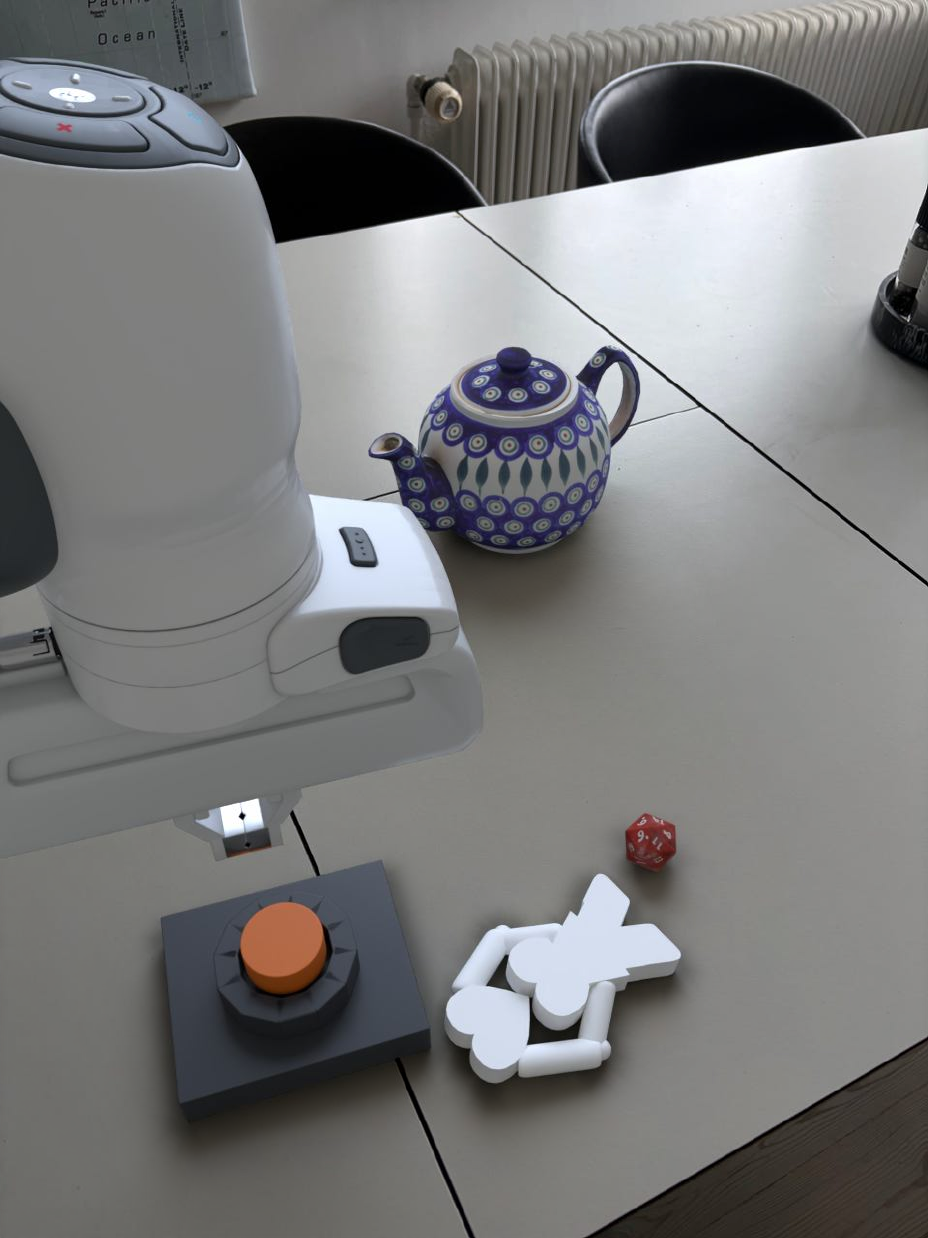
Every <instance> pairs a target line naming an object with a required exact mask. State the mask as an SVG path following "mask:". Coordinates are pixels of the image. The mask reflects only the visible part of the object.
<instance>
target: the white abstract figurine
mask: <svg viewBox="0 0 928 1238" xmlns="http://www.w3.org/2000/svg"><path fill="white" fill-rule="evenodd" d="M630 902H631V901H630V899H629V897H628V896H627V895H626V894H625V893H624V892H623V891H622V889H620V888H619V887H618V886H617V885H616V884H615V882H613V881H612V880H611V879H610V878H609V877H608V876H607V875H606V874H603V873H598V874H596V875H595V877H594V878H593V879H592V881H591V883H590V885H589V887H588V888H587V891H586V893H585V895H584V897H583V899H582V902H581V905H580V909H579V912H578V914H577V915H576V914H575V913H574V912H573V911H572V910H570V911H569V912H568V915H567V916H566V919H565V920H564V922H563V924H560V923H558V922H557V923H556V922H554V923H553V922H552V923H545V924H536V925H529V926H522V927H514V928H510V927H509V926H507V925H505V924H499V925H498V926H496V927H495V928H493V929H489V930H488V931H487V932H486V933H485V934H484V935H483V937H482V939H481V940H480V941H479V943H478V945H477V946H476V948H475V949H474V951H473V952H472V953H471V955H470V957H469V958H468V959H467V961H466V963H465V965H463V967H462V969H461V970H460V972H459V974H458V975H457V976H456V978H455V980H454V981H453V983H452V985H451V991H452V993H453V995H452V996H451V997H450V998H449V1000H448V1001H447V1003H446V1008H445V1013H444V1021H443V1026H444V1031H445V1033H446V1035H447V1037H448V1038H449V1040H450V1041H451V1042H452V1043H453V1044H455V1045H456V1046H458V1047H461V1048H463V1049H469V1050H470V1051H469V1056H468V1057H469V1064H470V1066H471V1069H472V1071H473V1072H474V1073H475V1074H476V1075H477V1076H478V1077H479V1078H480V1079H481V1080H483V1081H485V1082H486V1083H491V1084H498V1083H503V1082H504V1081H506V1080H508V1079H510V1078H511V1077H513V1076H514V1075H515V1074H516V1073H517V1072H518V1076H519V1077H520V1078H534V1077H540V1076H548V1075H557V1074H564V1073H571V1072H577V1071H586V1070H592V1069H596V1068H599V1067H600V1066H602V1062H603V1061H606V1060H607V1059H609V1058H610V1056H611V1053H612V1046H611V1044H610V1042H609V1041H608V1040H607V1038H608V1033H609V1027H610V1022H611V1017H612V1012H613V1007H614V1001H615V996H616V993H617V992H621V991H625V989H626V987H627V984H628V983H630V982H631V983H632V982H636V981H641V980H646V979H654V978H662V977H668V976H670V975H673V974H674V972H675V971H676V969H677V966H678V964H679V961H680V959H681V956H682V954H681V953H682V952H681V951H680V949H678V947H677V946H676V945H675V944H674V943H673V942H672V941H671V940H670V939H669V938H668V937H667V936H666V935H665V934H664V933H663V932H662V931H661V930H660V929H659V928H658V927H657V926H656V925H655V924H653V923H641V924H631V925H624V926H623V924H624V922H625V920H626V916H627V913H628V910H629V906H630ZM505 956H508V959H507V962H506V963H507V965H506V969H505V977H506V981H507V983H508V984H509V986H510V988H511V989H512V990H513V991H511V990H508V989H503V988H499V987H493V986H488V983H489V982H490V980H491V978H492V977H493V975H494V974H495V972H496V971H497V969H498V967H499V965H500V964H501V962H502V961H503V959H504V958H505ZM531 998H532V1002H531V1007H532V1013H533V1014H534V1016H535V1018H536V1019H537V1020H538V1022H540V1024H542V1025H543V1026H544V1027H545V1028H548V1029H550V1030H553V1031H564V1030H566V1029H569V1028H570V1027H572V1026H573V1025H575V1024H576V1023H577V1022H578V1021H579V1020H580V1019H581V1021H580V1025H579V1031H578V1036H577V1038H574V1039H566V1040H559V1041H550V1042H543V1043H535V1044H528V1041H529V1037H530V1021H531V1019H530V999H531Z"/></svg>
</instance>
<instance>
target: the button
mask: <svg viewBox="0 0 928 1238" xmlns="http://www.w3.org/2000/svg"><path fill="white" fill-rule="evenodd" d="M240 950H241V954H242V958H243V961H244V964H245V968H246V971H247V974H248V976H249V978H250V979H251V981H252V982H253V983H254V984H255V985H256V986H257V987H258V988H260V989H261V990H263V991H266V992H269V993H272V994H290V993H294V992H297V991H299V990H301V989H303V988H305V987H306V986H308V985H309V984H310V983H312V982H313V981H314V980H315V979H316V978H317V976H318V975H319V974H320V972H321V970H322V968H323V966H324V964H325V960H326V944H325V939H324V933H323V928H322V925H321V922H320V920H319V919H318V917H317V916H316V914H315V913H314V912H313V911H311V910H310V909H309V908H307V907H305V906H303V905H300V904H297V903H291V902H284V903H277V904H273V905H270V906H268V907H266V908H264V909H262V910H260V911H259V912H258V913H256V914H255V915H254V916H253V917H252V918H251V919H250V920H249V922H248V923H247V925H246V926H245V928H244V930H243V933H242V936H241V940H240Z"/></svg>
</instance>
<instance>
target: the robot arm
mask: <svg viewBox="0 0 928 1238" xmlns="http://www.w3.org/2000/svg"><path fill="white" fill-rule="evenodd" d="M284 279H285V278H284V274H283V269H282V266H281V261H280V256H279V251H278V246H277V243H276V238H275V235H274V231H273V228H272V223H271V220H270V217H269V213H268V210H267V207H266V204H265V200H264V197H263V195H262V192H261V189H260V186H259V184H258V181H257V180H256V177H255V174H254V173H253V171H252V168H251V166H250V164H249V161H248V160H247V158H246V157H245V155H244V154H243V152H242V150H241V149H240V147H239V146H238V144H237V143H236V141H235V140H234V138H233V137H232V135H231V134H230V133H229V132H228V131H227V130H226V129H225V127H223V126H222V125H221V124H220V123H219V122H218V121H217V120H216V119H215V118H214V117H212V115H210V114H209V113H208V112H207V111H205V109H203V108H202V107H201V106H199V104H198V103H196V102H194V100H192V99H191V98H189V97H188V96H186V95H184V94H182V93H180V92H177V91H175V90H173V89H170V88H166V87H164V86H162V85H159V84H158V83H155V82H153V81H151V80H149V78H147V77H145V76H142V75H138V74H136V73H132V72H128V71H125V70H121V69H118V68H112V67H108V66H103V65H99V64H94V63H89V62H84V61H77V60H68V59H60V58H47V57H12V56H11V57H6V59H1V60H0V599H1V598H4V597H8V596H10V595H13V594H16V593H18V592H21V591H23V590H26V589H28V588H30V587H32V586H34V585H35V587H36V590H37V591H38V595H39V598H40V600H41V603H42V605H43V608H44V611H45V614H46V617H47V619H48V622H49V625H50V626H45V627H39V628H34V629H28V630H23V631H17V632H13V633H8V634H4V635H0V860H3V859H7V858H12V857H15V856H19V855H24V854H28V853H32V852H36V851H40V850H44V849H45V850H46V849H48V848H49V849H50V848H54V847H58V846H62V845H66V844H69V843H74V842H79V841H83V840H87V839H91V838H96V837H101V836H104V835H105V836H106V835H109V834H113V833H117V832H121V831H126V830H130V829H134V828H138V827H143V826H148V825H151V824H155V823H160V822H164V821H168V820H173V822H174V826H175V827H176V828H178V829H180V830H182V831H184V832H186V833H187V834H189V835H192V836H194V837H196V838H198V839H200V840H201V841H204V842H206V843H208V842H209V844H210V847H211V851H212V854H213V855H212V856H213V858H214V861H215V862H220V861H223V860H224V861H225V860H227V859H230V858H233V857H237V856H241V855H244V854H249V853H254V852H258V851H259V852H260V851H263V850H267V849H272V848H277V847H280V846H283V845H284V838H283V834H282V829H281V828H282V827H281V825H283V824H284V822H285V821H286V820H287V818H288V817H289V815H291V813H292V811H293V810H294V808H296V806H297V805H298V803H299V802H300V800H301V799H302V798H303V793H302V789H305V788H310V787H313V786H314V787H315V786H318V785H323V784H327V783H331V782H336V781H339V780H344V779H349V778H352V777H356V776H361V775H365V774H370V773H374V772H378V771H382V770H387V769H390V768H394V767H400V766H403V765H408V764H412V763H417V762H420V761H424V760H429V759H434V758H438V757H442V756H447V755H452V754H456V753H459V752H462V751H464V750H465V749H466V748H468V747H469V746H470V745H471V744H472V742H473V741H475V739H476V738H478V736H479V735H480V734H481V733H482V731H483V729H484V722H485V721H484V719H485V715H484V713H485V712H484V697H483V689H482V688H483V687H482V682H481V677H480V676H481V675H480V673H479V668H478V664H477V661H476V659H475V656H474V653H473V651H472V649H471V646H470V644H469V642H468V639H467V637H466V634H465V632H464V630H463V627H462V625H461V623H460V616H459V611H458V607H457V602H456V598H455V596H454V592H453V588H452V585H451V583H450V580H449V577H448V574H447V571H446V569H445V567H444V564H443V562H442V559H441V558H440V556H439V554H438V552H437V550H436V548H435V546H434V544H433V542H432V540H431V538H430V536H429V535H428V532H426V530H424V528H423V527H422V525H421V524H420V522H419V521H418V519H417V518H416V517H415V515H414V514H413V512H412V511H411V510H410V509H409V508H407V507H405V506H403V505H402V504H399V503H393V502H386V501H374V500H362V499H354V498H353V499H352V498H342V497H334V496H327V495H318V494H313V493H309V491H308V489H307V487H306V486H305V484H304V482H303V480H302V477H301V476H300V473H299V471H298V469H297V463H296V457H295V454H296V453H295V452H296V445H297V441H298V435H299V431H300V428H301V419H302V395H301V387H300V378H299V370H298V361H297V353H296V347H295V341H294V340H295V339H294V334H293V326H292V325H293V324H292V319H291V313H290V307H289V302H288V301H289V300H288V296H287V290H286V285H285V280H284Z"/></svg>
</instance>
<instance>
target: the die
mask: <svg viewBox="0 0 928 1238" xmlns="http://www.w3.org/2000/svg"><path fill="white" fill-rule="evenodd" d="M676 833H677V832H676V824H674V823H671V822H669V821H667V820H665V819H662V818H659V817H657V816H654V815H652V814H650V813H647V812H644V813H642V815H640V817H638V818H637V819H636V820H635V821H634V822H632V824H631V825H630V826H628V827H627V829H625V831H624V836H625V837H624V838H625V854H626V855H625V856H626V860H627V861H628V862H631V863H633V864H635V865H637V866H640V867H643V868H645V869H647V870H650V871H652V872H655V873H658V872H660V871H661V870H662V868H664V867H665V865H667V864H668V863H669V861H671V859H672V858H673V857H674V856H675V855H676V854H677V836H676V835H677V834H676Z"/></svg>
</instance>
